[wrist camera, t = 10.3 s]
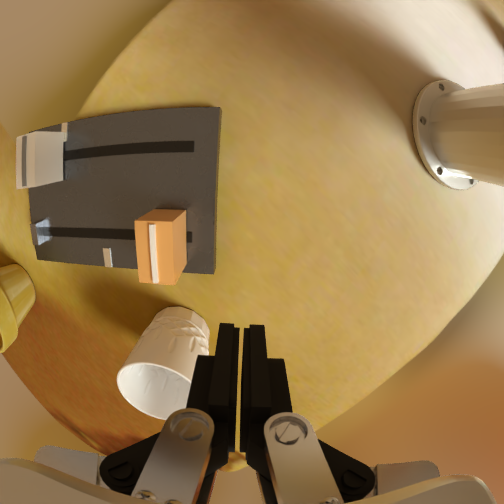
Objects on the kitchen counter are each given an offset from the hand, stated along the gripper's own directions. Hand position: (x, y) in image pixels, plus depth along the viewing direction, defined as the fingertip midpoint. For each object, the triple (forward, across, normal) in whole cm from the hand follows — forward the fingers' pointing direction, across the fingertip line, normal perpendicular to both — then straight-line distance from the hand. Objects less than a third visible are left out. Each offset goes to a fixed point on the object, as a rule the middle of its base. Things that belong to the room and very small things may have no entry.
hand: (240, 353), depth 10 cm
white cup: (+17, +7, +11) cm, 21 cm away
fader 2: (+15, +7, 0) cm, 16 cm away
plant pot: (+17, +32, +8) cm, 37 cm away
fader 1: (+15, +20, -8) cm, 26 cm away
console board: (+16, +14, -4) cm, 22 cm away
